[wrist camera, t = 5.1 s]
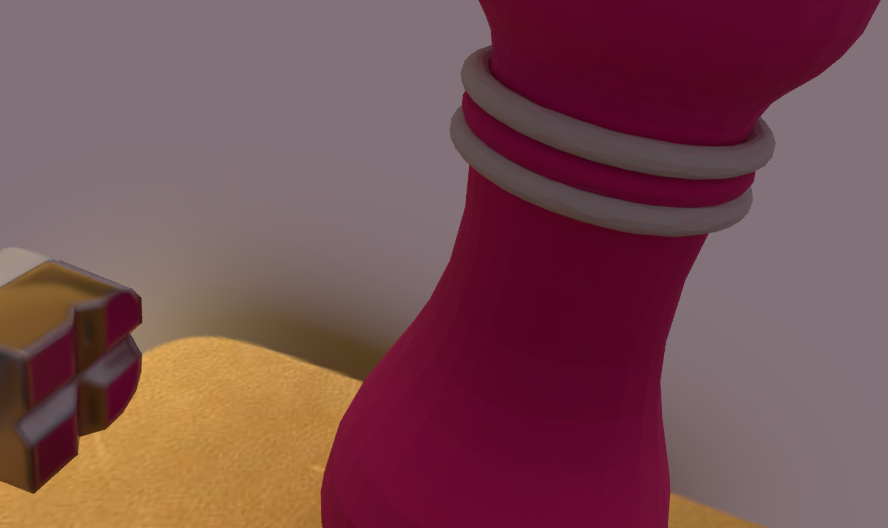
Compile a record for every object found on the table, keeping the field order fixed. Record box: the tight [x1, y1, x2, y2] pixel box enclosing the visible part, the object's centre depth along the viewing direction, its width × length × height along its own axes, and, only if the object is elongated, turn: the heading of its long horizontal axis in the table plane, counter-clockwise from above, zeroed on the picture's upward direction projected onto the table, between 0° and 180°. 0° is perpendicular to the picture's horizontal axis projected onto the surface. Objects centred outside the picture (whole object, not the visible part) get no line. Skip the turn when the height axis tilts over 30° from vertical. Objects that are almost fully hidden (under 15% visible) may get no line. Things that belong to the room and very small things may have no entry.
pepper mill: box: [321, 0, 880, 528], centre depth 14 cm, size 7×7×20 cm
